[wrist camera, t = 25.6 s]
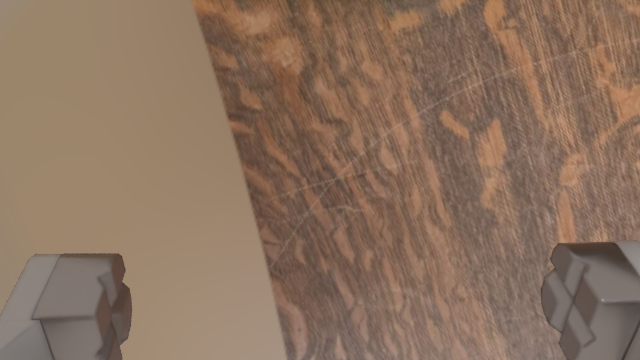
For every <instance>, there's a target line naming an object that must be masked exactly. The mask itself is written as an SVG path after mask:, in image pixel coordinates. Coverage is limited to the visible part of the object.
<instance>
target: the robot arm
mask: <svg viewBox="0 0 640 360" xmlns="http://www.w3.org/2000/svg"><path fill="white" fill-rule="evenodd" d="M550 260H551V262H552V264H553V265H554V267H555V268H554V269H553V270H552V271H551V272H550V273H548V274H547V275H546V276H545V277H544V281H543V284H542V288H541V304H542V308H543V311H544V315H545V317H546V319H547V321H548V323H549V325H550V326H552V327H553V328H555V329H556V330H557V331H559V332H560V333H562V335H561V338H560V340H559V345H560V347H561V349H562V351H563V353H564V355H565V357H566V359H567V360H640V242H638V241H637V240H626V241H610V242H585V243H558V244H557V246H556V247H555V248H554V249H553V252H552V255H551V258H550ZM124 273H125V267H124V262H123V258H122V256H121V255H119V254H35V255H34V256H32V257H31V258H30V259H29V260H28V261H27V263H26V265H25V268H24V269H23V271H22V273H21V275H20V277H19V279H18V282H17V283H16V285H15V287H14V289H13V291H12V293H11V295H10V297H9V299H8V300H7V303H6V305H5V306H4V309H3V310H2V312H1V314H0V360H122V354H121V350H120V345H121V344H122V343H123V342H124V341H125V340H127V339H128V335H129V331H130V327H131V316H132V302H131V294H130V289H129V288H128V287H127V286H126V285H125V284H124V283H123V282H122V280H123V277H124Z"/></svg>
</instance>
